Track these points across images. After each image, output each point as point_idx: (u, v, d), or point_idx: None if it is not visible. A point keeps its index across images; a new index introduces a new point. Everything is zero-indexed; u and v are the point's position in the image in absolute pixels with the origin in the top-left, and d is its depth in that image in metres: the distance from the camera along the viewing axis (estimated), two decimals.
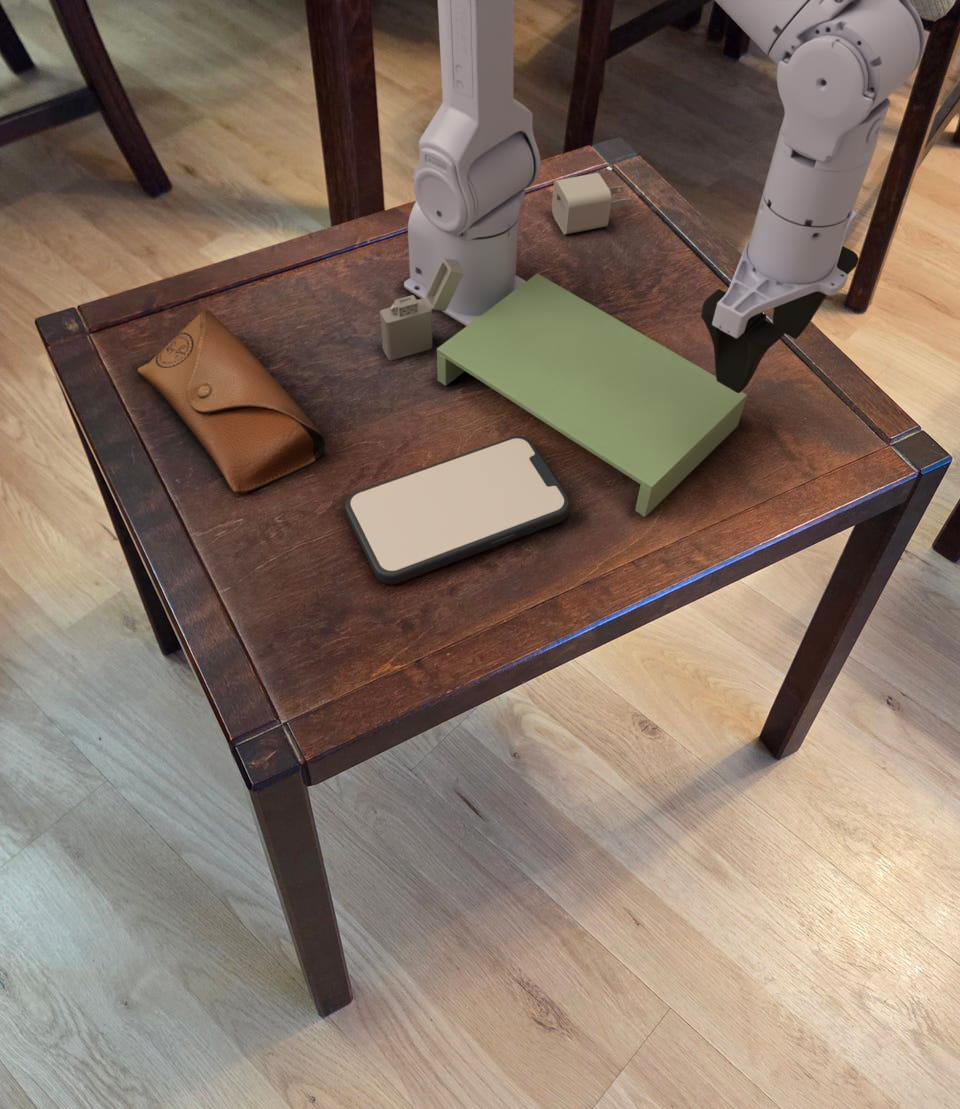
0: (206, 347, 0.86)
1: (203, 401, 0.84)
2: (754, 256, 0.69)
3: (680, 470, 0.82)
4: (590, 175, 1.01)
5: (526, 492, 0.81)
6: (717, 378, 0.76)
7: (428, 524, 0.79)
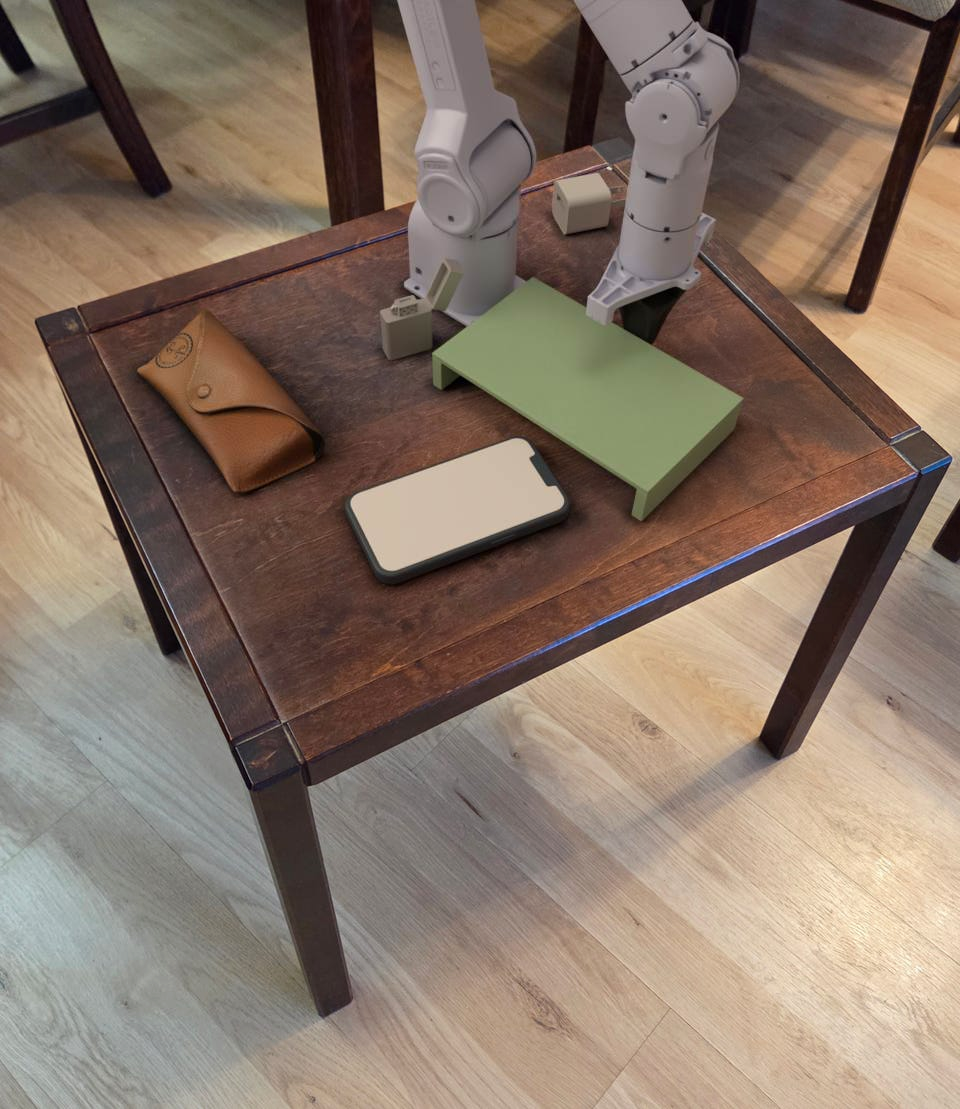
0: (206, 347, 0.86)
1: (203, 401, 0.84)
2: (622, 257, 0.82)
3: (677, 475, 0.82)
4: (590, 175, 1.01)
5: (526, 492, 0.81)
6: None
7: (428, 524, 0.79)
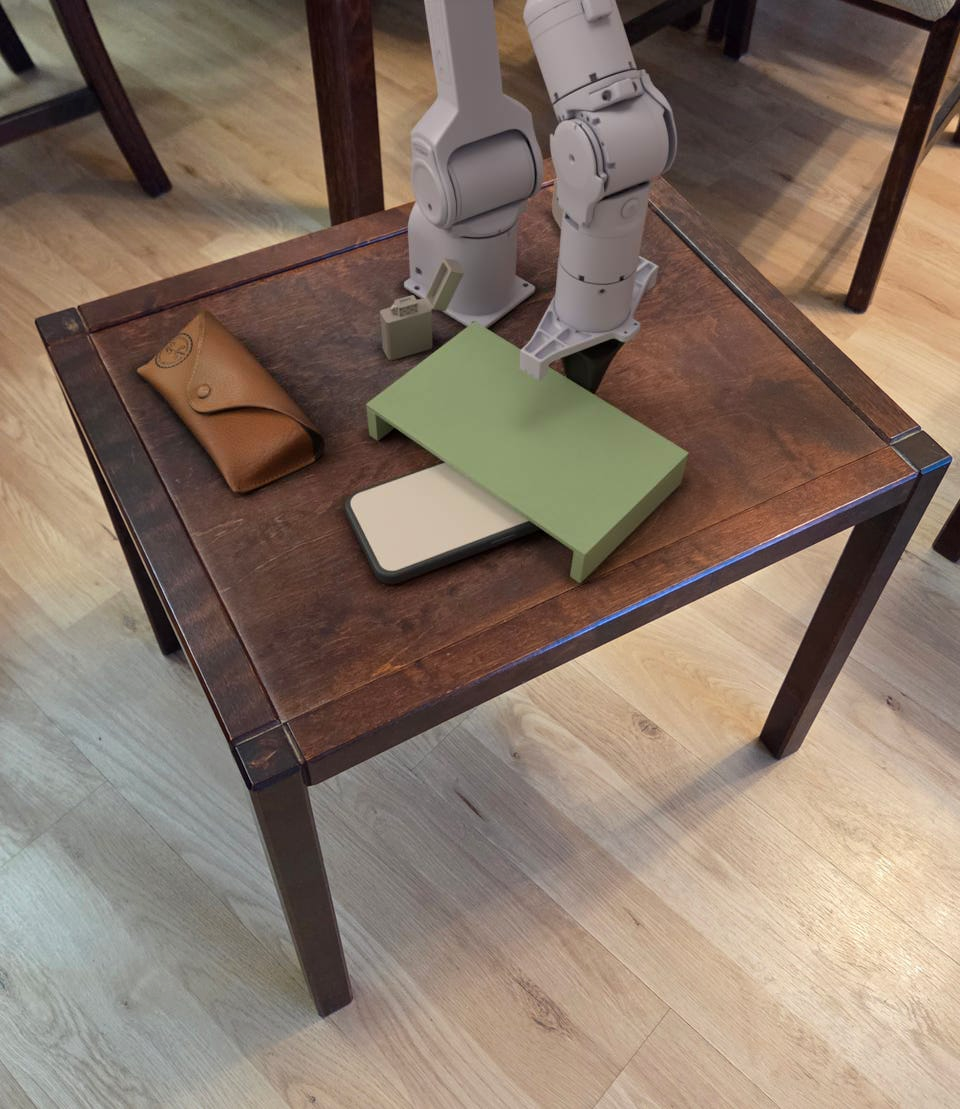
0: (205, 347, 0.86)
1: (202, 401, 0.84)
2: (557, 307, 0.78)
3: (617, 534, 0.78)
4: None
5: None
6: None
7: (428, 524, 0.79)
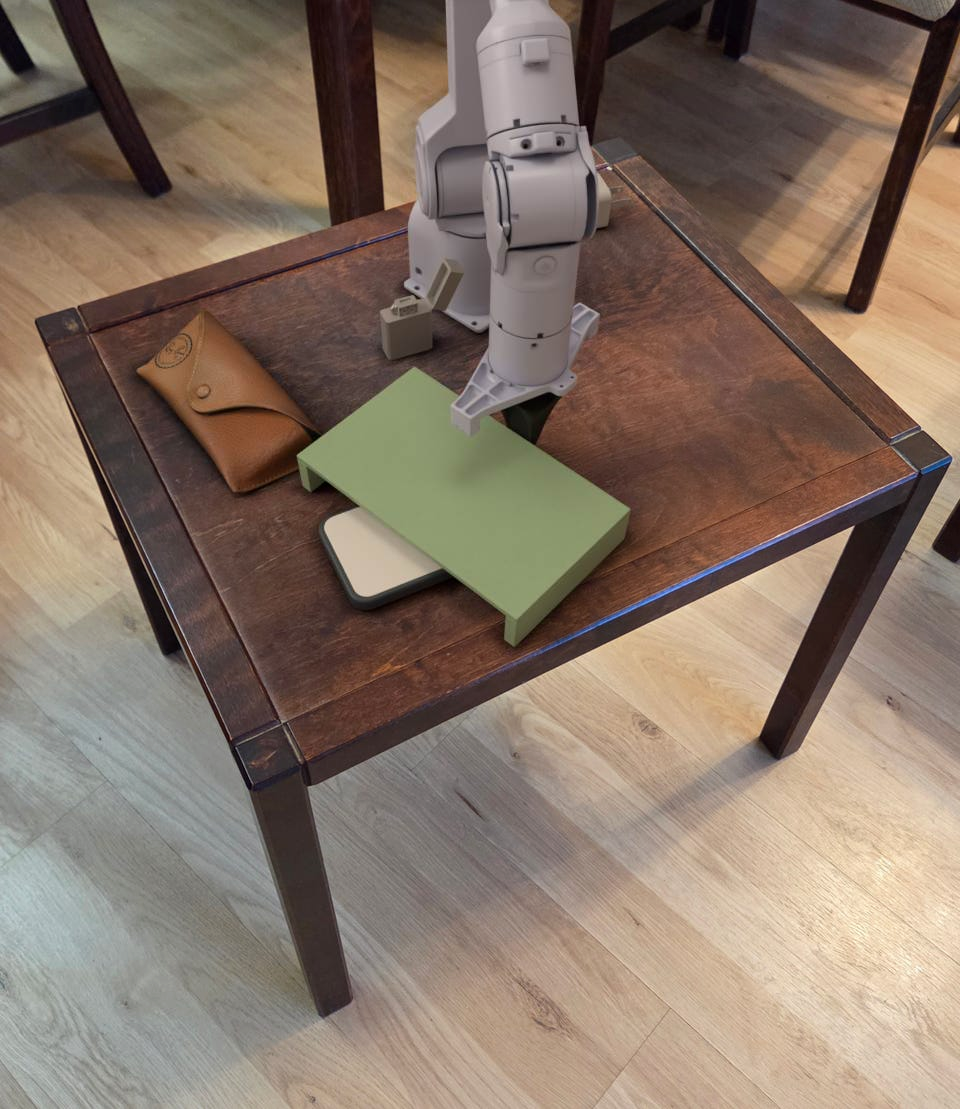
0: (205, 347, 0.86)
1: (202, 401, 0.84)
2: (490, 359, 0.75)
3: (553, 596, 0.75)
4: None
5: None
6: None
7: (403, 548, 0.78)
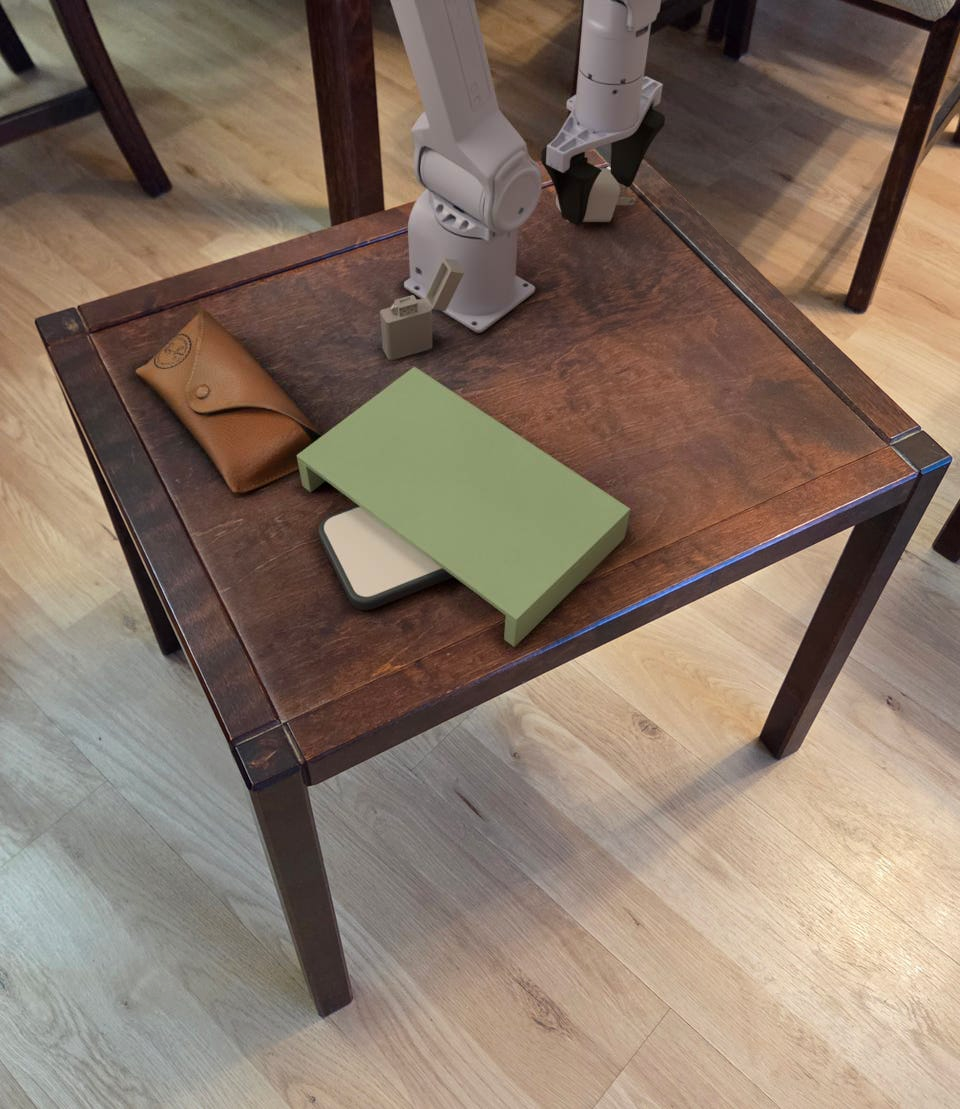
0: (204, 348, 0.86)
1: (202, 402, 0.84)
2: None
3: (553, 596, 0.75)
4: None
5: None
6: None
7: (403, 548, 0.78)
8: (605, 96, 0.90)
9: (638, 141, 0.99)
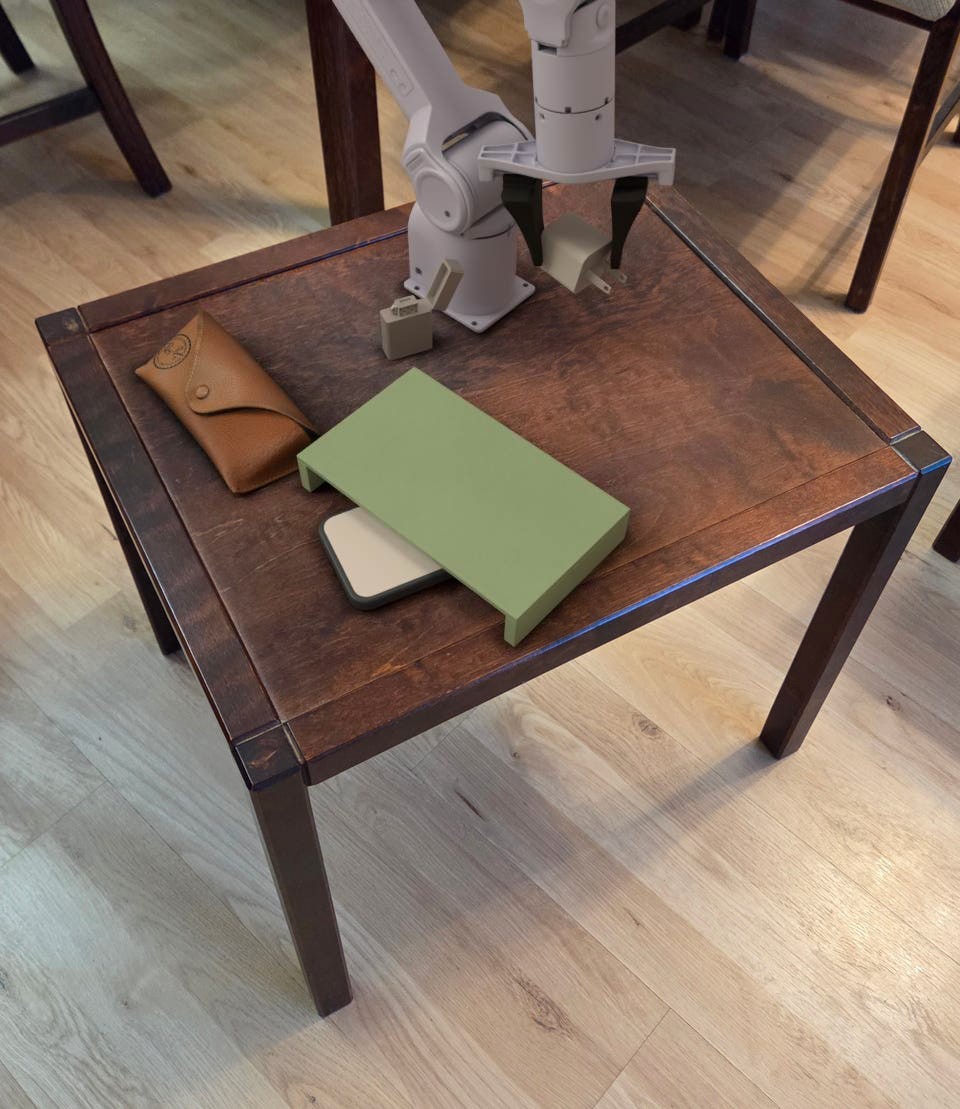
0: (204, 348, 0.86)
1: (201, 402, 0.84)
2: (606, 156, 0.76)
3: (553, 596, 0.75)
4: (601, 235, 0.84)
5: None
6: (619, 266, 0.83)
7: (403, 548, 0.78)
8: (537, 118, 0.75)
9: None
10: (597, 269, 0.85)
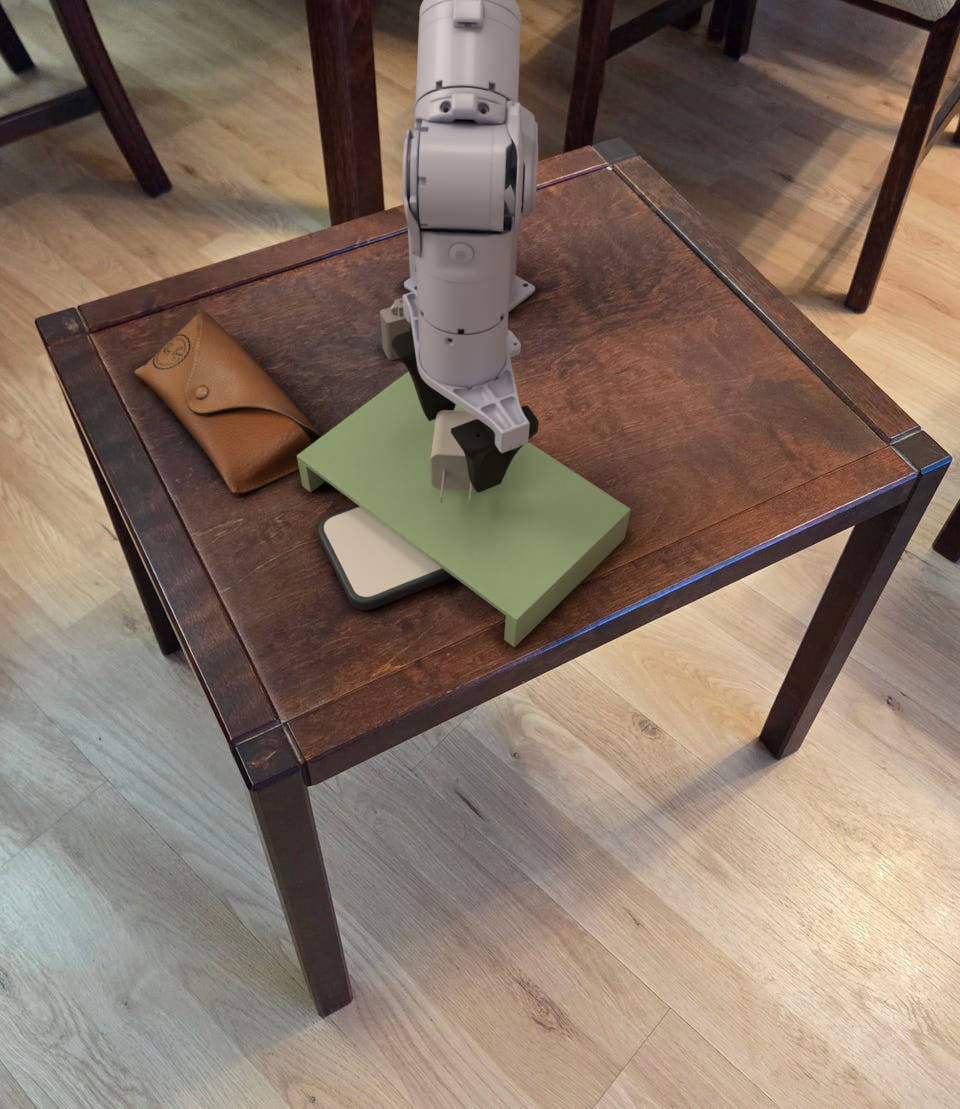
0: (203, 348, 0.86)
1: (201, 402, 0.84)
2: (460, 379, 0.67)
3: (554, 596, 0.75)
4: None
5: None
6: (478, 490, 0.74)
7: (403, 548, 0.78)
8: None
9: None
10: (469, 479, 0.77)
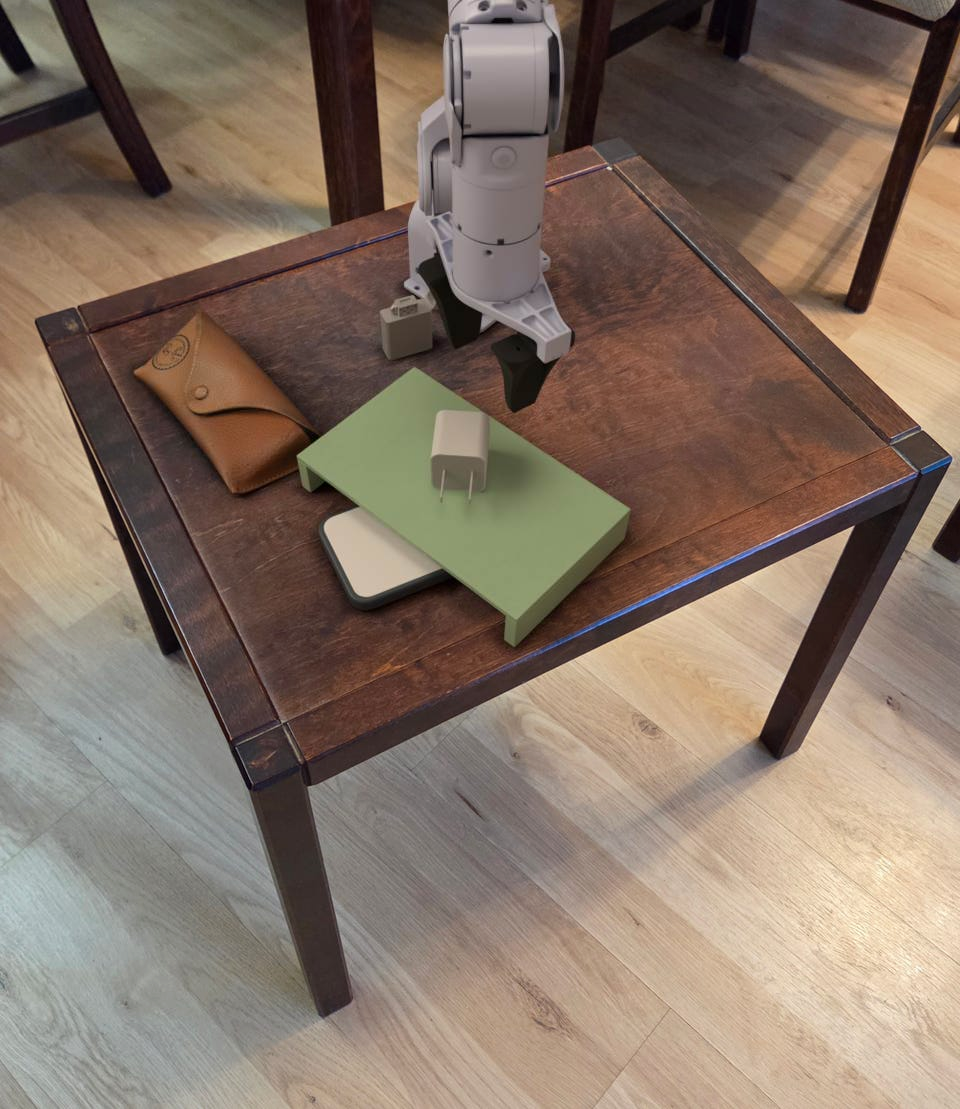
0: (202, 349, 0.86)
1: (200, 402, 0.84)
2: (498, 293, 0.68)
3: (554, 596, 0.75)
4: (477, 447, 0.75)
5: None
6: (514, 410, 0.75)
7: (403, 548, 0.78)
8: None
9: None
10: (469, 480, 0.77)
